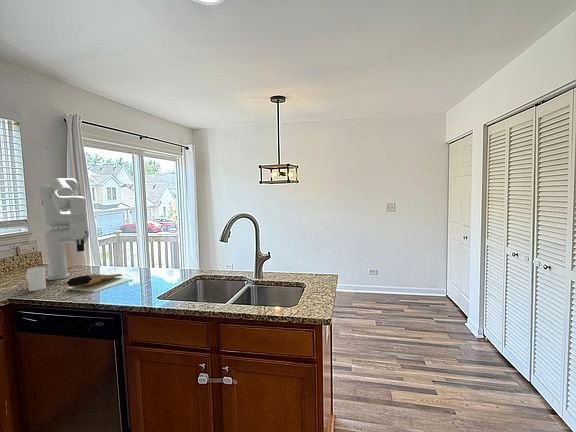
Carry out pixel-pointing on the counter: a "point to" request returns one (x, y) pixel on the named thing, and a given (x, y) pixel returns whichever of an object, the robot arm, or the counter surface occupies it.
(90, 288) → the silicone mat
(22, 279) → the counter surface
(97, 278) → the pancake mix bag
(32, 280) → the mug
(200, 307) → the counter surface
